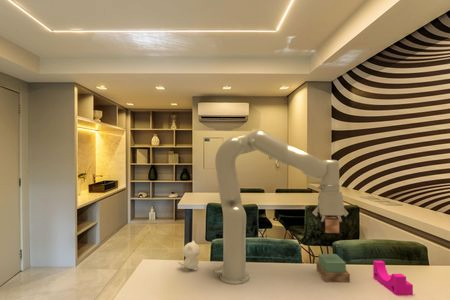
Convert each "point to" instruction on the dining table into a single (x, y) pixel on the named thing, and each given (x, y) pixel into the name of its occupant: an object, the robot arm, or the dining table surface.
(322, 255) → the tower top
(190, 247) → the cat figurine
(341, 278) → the tower base
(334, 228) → the terracotta cube
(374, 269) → the magenta curved bracket
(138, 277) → the dining table surface
